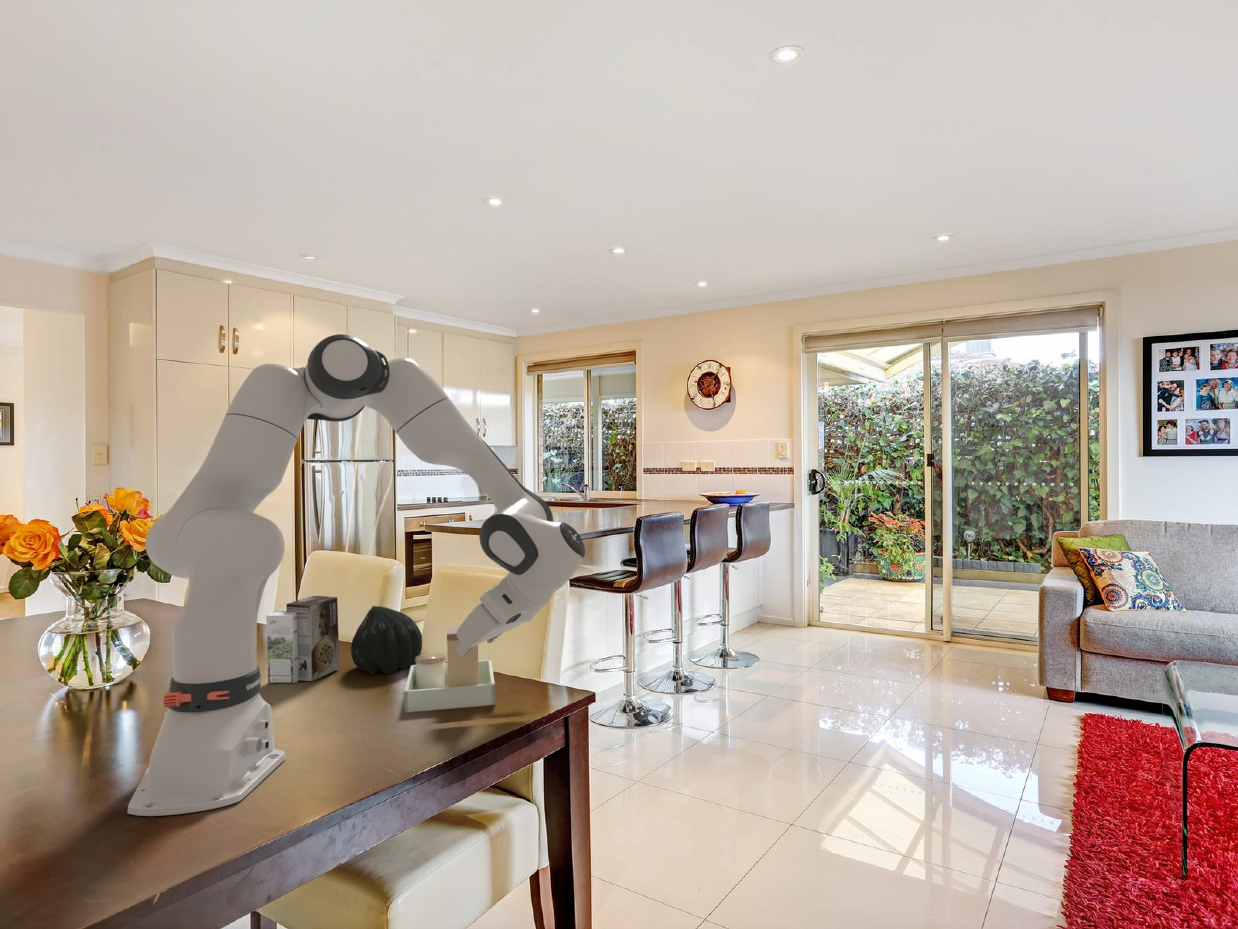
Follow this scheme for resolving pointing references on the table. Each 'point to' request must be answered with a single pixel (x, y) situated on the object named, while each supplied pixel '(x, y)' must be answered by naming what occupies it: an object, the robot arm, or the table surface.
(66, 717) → the table surface
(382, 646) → the squash
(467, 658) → the carton
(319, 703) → the table surface
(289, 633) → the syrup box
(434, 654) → the jar
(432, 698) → the tray
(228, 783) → the robot arm
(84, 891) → the table surface
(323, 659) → the coffee box
